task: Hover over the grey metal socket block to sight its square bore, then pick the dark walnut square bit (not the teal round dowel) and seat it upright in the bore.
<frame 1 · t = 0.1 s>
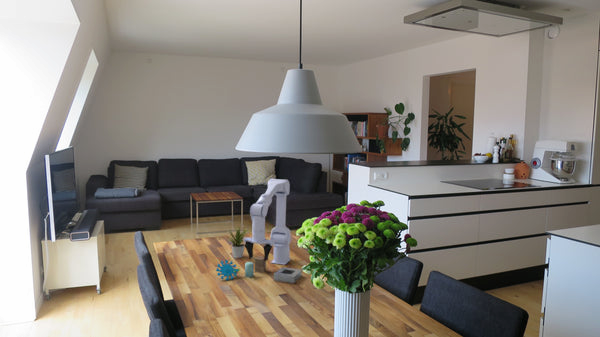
hand: (258, 259, 199), 10 cm above the table, fingers open, 7 cm apart
round dowel: (249, 275, 206), on the table
house plant: (240, 257, 233), on the table
blue virus model: (228, 278, 203), on the table
socket block: (287, 278, 204), on the table
square bit: (260, 270, 213), on the table
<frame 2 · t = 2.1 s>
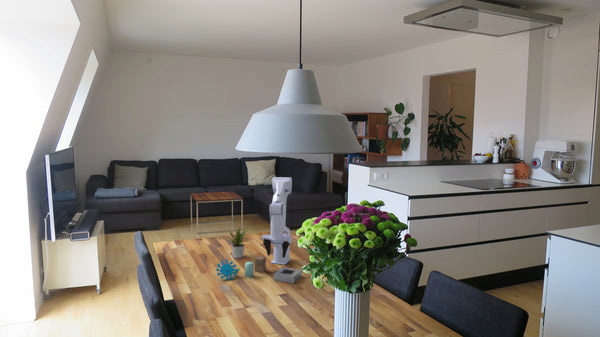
hand: (276, 255, 206), 9 cm above the table, fingers open, 7 cm apart
nothing on the table moved.
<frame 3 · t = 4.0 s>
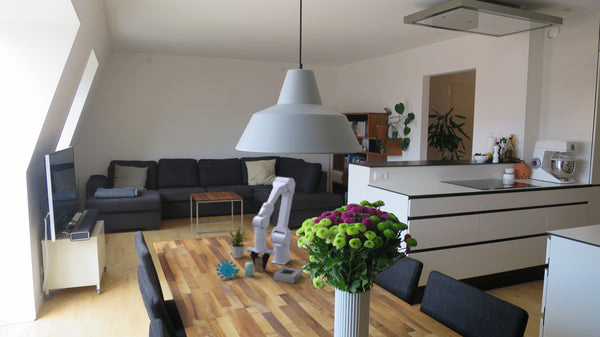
hand: (260, 267, 213), 2 cm above the table, fingers closed on square bit, 4 cm apart
square bit: (260, 270, 213), on the table, touching gripper
everything else where it was.
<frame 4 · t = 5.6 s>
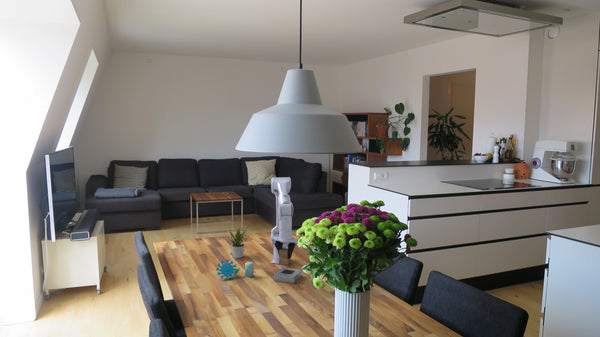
hand: (285, 257, 203), 9 cm above the table, fingers closed on square bit, 4 cm apart
square bit: (284, 262, 203), point 7 cm above the table, touching gripper
everything else where it was.
when the fingers open (4 cm above the table, at t = 7.5 s): square bit drops 1 cm, resting in socket block.
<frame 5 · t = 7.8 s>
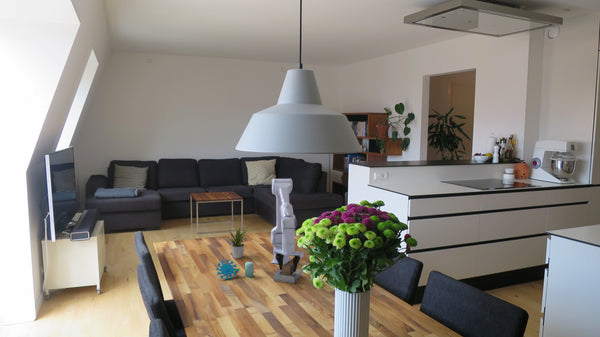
hand: (287, 270, 203), 4 cm above the table, fingers open, 6 cm apart
square bit: (287, 278, 203), resting in socket block
everything else where it was.
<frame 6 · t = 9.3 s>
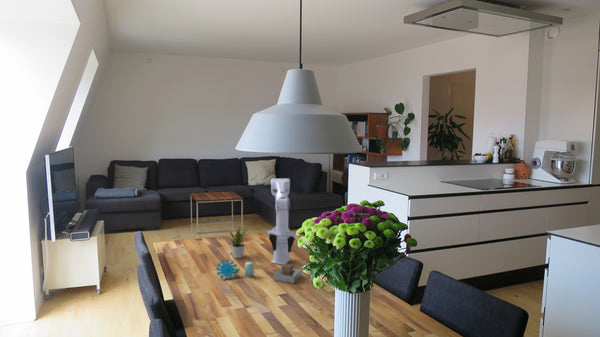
hand: (282, 251, 211), 10 cm above the table, fingers open, 7 cm apart
nothing on the table moved.
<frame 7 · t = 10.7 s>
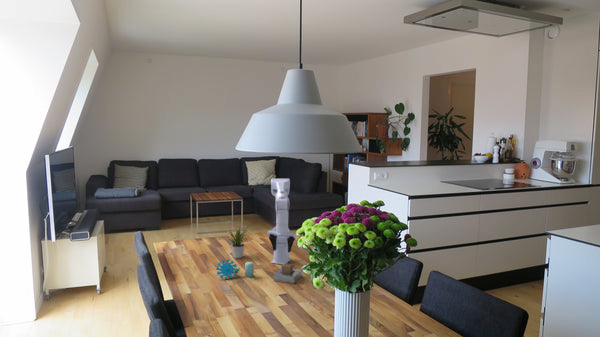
hand: (281, 251, 211), 10 cm above the table, fingers open, 7 cm apart
at the end: square bit 0.5 cm off-centre on the socket block, point 0.0 cm above the socket block's base; square bit tilted 0°; the gripper is holding nothing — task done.
